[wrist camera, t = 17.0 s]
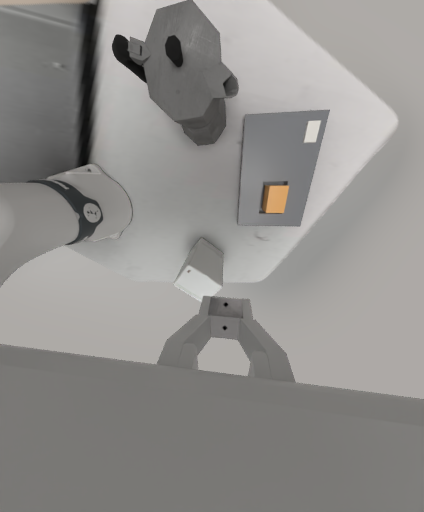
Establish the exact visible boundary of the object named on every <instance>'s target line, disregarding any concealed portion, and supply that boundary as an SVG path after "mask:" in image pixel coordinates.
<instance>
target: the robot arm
mask: <svg viewBox="0 0 424 512" xmlns="http://www.w3.org/2000/svg"><path fill="white" fill-rule="evenodd" d="M90 170H91V172H90ZM131 218H132V207H131V203H130V200H129V198H128V196H127V194H126V193H125V191H124V190H123V188H122V187H121V186H120V185H119V184H118V183H117V182H115V181H114V180H112V179H111V178H109V177H108V176H107V175H106V174H105V173H104V172H103V171H102V169H101V168H100V167H99V166H98V165H96V164H89V165H86V166H82V167H79V168H76V169H73V170H69V171H66V172H63V173H60V174H56V175H53V176H50V177H48V178H47V179H38V180H31V181H28V182H26V183H0V287H1V286H2V285H3V283H4V282H5V280H7V279H8V277H9V276H10V275H11V274H12V273H14V272H15V271H16V270H17V269H18V268H19V267H21V266H22V265H23V264H25V263H26V262H28V261H30V260H32V259H34V258H36V257H38V256H40V255H42V254H44V253H46V252H48V251H51V250H53V249H55V248H57V247H60V246H63V245H71V244H74V243H79V242H81V241H84V240H87V241H92V242H96V241H99V240H102V239H104V238H111V239H118V238H119V237H120V235H121V233H122V231H123V230H124V229H125V228H126V227H127V226H128V225H129V223H130V221H131ZM211 337H216V338H227V339H235V340H238V341H239V343H240V345H241V346H242V348H243V349H244V351H245V353H246V355H247V357H248V358H249V360H250V362H251V363H250V368H249V374H248V376H241V375H233V374H226V373H218V372H210V371H202V370H198V361H197V355H198V354H199V353H200V351H201V350H202V349H203V347H204V346H205V345H206V343H207V342H208V341H209V339H210V338H211ZM0 512H424V399H419V398H411V397H403V396H395V395H388V394H379V393H372V392H365V391H357V390H349V389H342V388H334V387H326V386H318V385H311V384H303V383H296V382H295V379H294V376H293V373H292V370H291V367H290V363H289V360H288V357H287V354H286V353H285V352H284V350H283V349H282V348H281V347H280V346H279V345H278V344H277V343H276V342H275V341H274V340H273V338H272V337H271V336H270V335H269V334H268V333H267V332H266V331H265V330H264V329H263V328H262V326H261V325H260V324H259V323H258V322H257V321H256V320H253V316H252V310H251V303H250V299H238V298H224V297H215V296H203V299H202V303H201V307H200V310H199V314H198V315H195V316H194V317H193V318H192V319H190V320H189V321H188V322H187V323H186V324H185V325H184V326H182V327H181V328H180V329H179V330H178V331H177V332H175V333H174V334H173V335H172V336H171V337H170V338H169V339H167V341H166V343H165V345H164V348H163V351H162V353H161V355H160V357H159V360H158V362H157V365H156V364H148V363H141V362H133V361H125V360H117V359H110V358H102V357H95V356H87V355H79V354H71V353H64V352H56V351H49V350H40V349H33V348H26V347H18V346H11V345H4V344H0Z"/></svg>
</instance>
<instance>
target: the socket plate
mask: <svg viewBox="0 0 424 512" xmlns="http://www.w3.org/2000/svg"><path fill="white" fill-rule="evenodd" d="M329 111H330V110H316V111H299V112H282V113H265V114H248V115H245V119H244V130H243V145H242V160H241V176H240V191H239V206H238V221H237V223H238V225H252V226H300V225H301V221H302V217H303V213H304V209H305V205H306V201H307V197H308V193H309V189H310V186H311V182H312V178H313V174H314V170H315V166H316V162H317V158H318V154H319V150H320V146H321V143H322V139H323V135H324V131H325V127H326V123H327V119H328V115H329ZM265 185H287V186H289V190H288V195H287V200H286V205H285V210H284V213H266V212H264V211H263V210H262V202H263V194H264V187H265Z"/></svg>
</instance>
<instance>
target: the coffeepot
mask: <svg viewBox="0 0 424 512" xmlns="http://www.w3.org/2000/svg"><path fill="white" fill-rule="evenodd" d="M112 50H113V53H114V56H115V57H116V59H117V60H118V61H119V62H121V63H122V64H123V65H124V66H126V67H127V68H128V69H130V70H131V71H132V72H133V73H135V74H136V75H137V76H138V77H139V78H140V79H141V80H143V81H144V82H145V83H147V85H148V90H149V95H150V98H151V99H152V100H153V101H154V102H155V103H156V104H157V105H158V106H159V107H160V108H161V109H162V110H163V111H164V112H165V113H167V114H168V115H169V116H170V117H171V118H172V119H173V120H174V121H175V122H177V123H179V124H181V125H182V127H183V130H184V133H185V134H186V135H187V136H188V137H189V138H191V139H192V140H193V141H194V142H195V143H196V144H197V145H198V146H199V145H207V144H213V143H215V142H216V140H217V139H218V137H219V136H220V135H221V133H222V131H223V130H224V128H225V127H226V117H225V101H224V99H223V98H232V97H234V96H236V95H237V93H238V88H239V87H238V81H237V78H236V77H235V76H234V75H233V73H232V72H231V71H230V70H229V69H228V68H227V67H226V66H225V65H224V64H223V63H222V62H221V46H220V33H219V32H218V30H217V29H216V28H215V27H214V26H213V24H212V23H211V22H210V21H209V20H208V18H207V17H206V16H205V15H204V14H203V12H202V11H201V10H200V9H199V8H198V6H197V5H196V4H195V3H194V2H193V0H187V1H183V2H180V3H177V4H173V5H170V6H167V7H163V8H160V9H157V10H156V13H155V15H154V18H153V21H152V24H151V27H150V29H149V32H148V35H147V38H146V41H145V43H144V42H143V41H140V40H137V39H135V38H132V37H130V42H129V41H128V40H127V39H126V38H125V37H124V36H122V35H116V36H115V38H114V41H113V43H112ZM142 65H143V66H142Z"/></svg>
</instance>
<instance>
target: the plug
mask: <svg viewBox="0 0 424 512" xmlns="http://www.w3.org/2000/svg"><path fill="white" fill-rule="evenodd" d="M288 190H289V186H287V185H265V187H264V194H263V202H262V210H263V211H264V212H266V213H284V210H285V205H286V200H287V195H288Z"/></svg>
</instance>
